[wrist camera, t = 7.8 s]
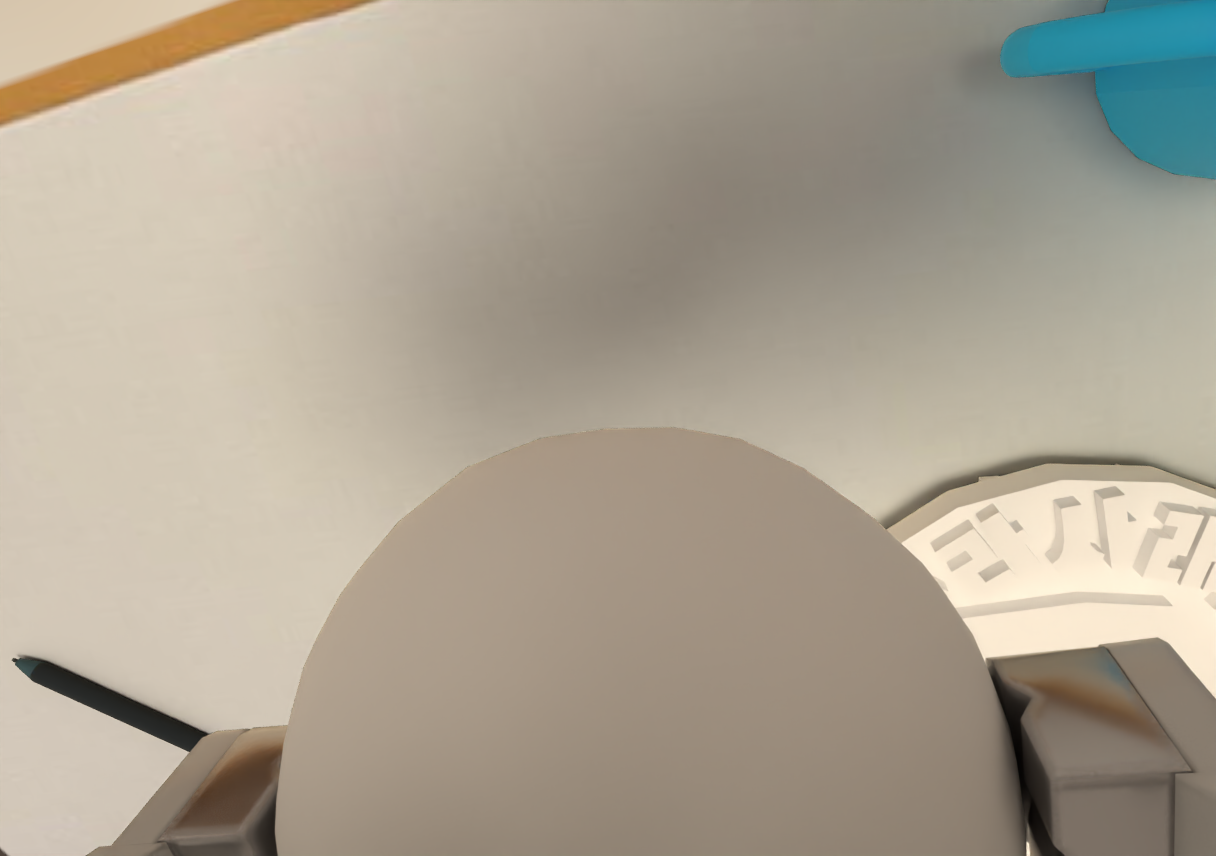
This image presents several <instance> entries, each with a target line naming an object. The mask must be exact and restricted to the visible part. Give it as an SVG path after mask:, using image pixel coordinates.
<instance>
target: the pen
mask: <svg viewBox="0 0 1216 856" xmlns="http://www.w3.org/2000/svg"><path fill="white" fill-rule="evenodd" d="M12 661H13V662H16V663H15V665H16V666H17V667H18V668H19V669H20V670H21V671H22V672H23V673H24V674H26V675H27V676H28V677H29V678H30V679H31V680H32V681H33V682H35V683H38V684H40V685H42V686H44V687H47V688H49V689H51V690H53V691H55V692H58V693H60V694H62V695H64V696H67V697H69V698H71V699H73V700H75V701H78V702H80V703H82V704H84V705H86V706H89V707H91V708H93V709H95V710H98V711H100V712H102V713H104V714H106V715H109V716H111V717H113V718H115V719H118V720H120V721H122V722H124V723H126V724H129V725H131V726H133V727H135V728H138V729H140V730H142V731H144V732H146V733H149V734H151V735H153V736H155V737H157V738H160V739H162V740H164V741H166V742H169V743H171V744H173V745H175V746H177V747H180V748H182V749H184V750H186V751H189V752H190V751H191V750H192V749H193V748H194V747H195V745H196V744H197V743H198V742H199V741H200V739H201V738H203V737H205V736H207V734H205V733H203V732H200V731H198V730H196V729H194V728H192V727H189V726H187V725H185V724H183V723H181V722H178V721H176V720H174V719H172V718H170V717H167V716H165V715H163V714H161V713H158V712H156V711H154V710H152V709H150V708H147V707H145V706H143V705H141V704H139V703H136V702H134V701H132V700H130V699H127V698H125V697H123V696H121V695H119V694H116V693H114V692H112V691H110V690H108V689H105V688H103V687H101V686H99V685H97V684H94V683H92V682H90V681H88V680H85V679H83V678H81V677H79V676H77V675H74V674H72V673H70V672H68V671H66V670H63V669H61V668H59V667H57V666H54V665H52V664H50V663H48V662H42V661H35V660H29V659H22V658H20V659H16V658H13V659H12Z"/></svg>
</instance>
